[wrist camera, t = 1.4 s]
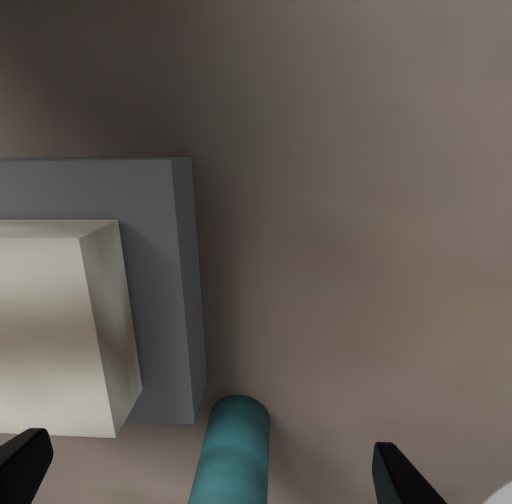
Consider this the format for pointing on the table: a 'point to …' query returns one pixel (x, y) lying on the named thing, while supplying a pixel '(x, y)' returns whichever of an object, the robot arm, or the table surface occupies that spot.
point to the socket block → (134, 259)
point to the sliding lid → (65, 329)
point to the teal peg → (234, 454)
